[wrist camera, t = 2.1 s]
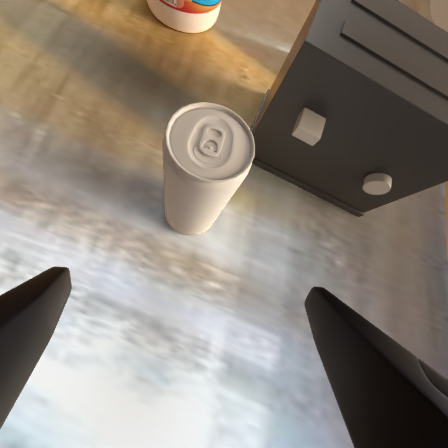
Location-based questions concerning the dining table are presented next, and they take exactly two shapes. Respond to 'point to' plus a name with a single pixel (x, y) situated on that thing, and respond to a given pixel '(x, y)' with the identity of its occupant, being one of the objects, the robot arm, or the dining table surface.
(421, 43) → the toaster
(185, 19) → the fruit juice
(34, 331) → the robot arm
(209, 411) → the dining table surface
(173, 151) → the beverage can
